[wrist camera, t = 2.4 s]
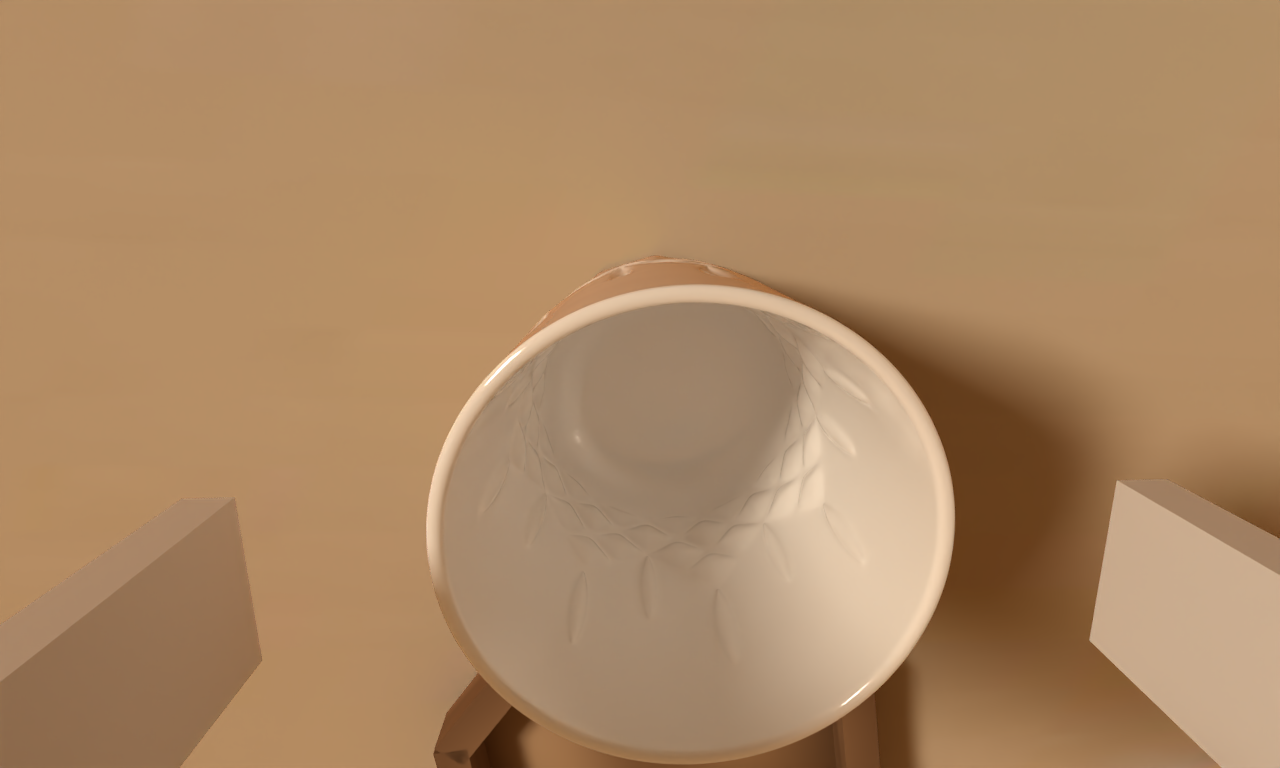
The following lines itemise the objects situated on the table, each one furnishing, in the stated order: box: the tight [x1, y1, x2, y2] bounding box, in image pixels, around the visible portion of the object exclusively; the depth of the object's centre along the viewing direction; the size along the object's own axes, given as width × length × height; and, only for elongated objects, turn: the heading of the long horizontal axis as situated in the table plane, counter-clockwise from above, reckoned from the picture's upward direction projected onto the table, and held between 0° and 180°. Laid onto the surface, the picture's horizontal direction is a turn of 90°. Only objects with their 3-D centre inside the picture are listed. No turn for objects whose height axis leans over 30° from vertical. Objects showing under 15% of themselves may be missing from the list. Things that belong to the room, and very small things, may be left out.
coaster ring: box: [434, 673, 880, 768], centre depth 23 cm, size 13×13×2 cm
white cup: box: [426, 255, 955, 765], centre depth 15 cm, size 8×8×10 cm
